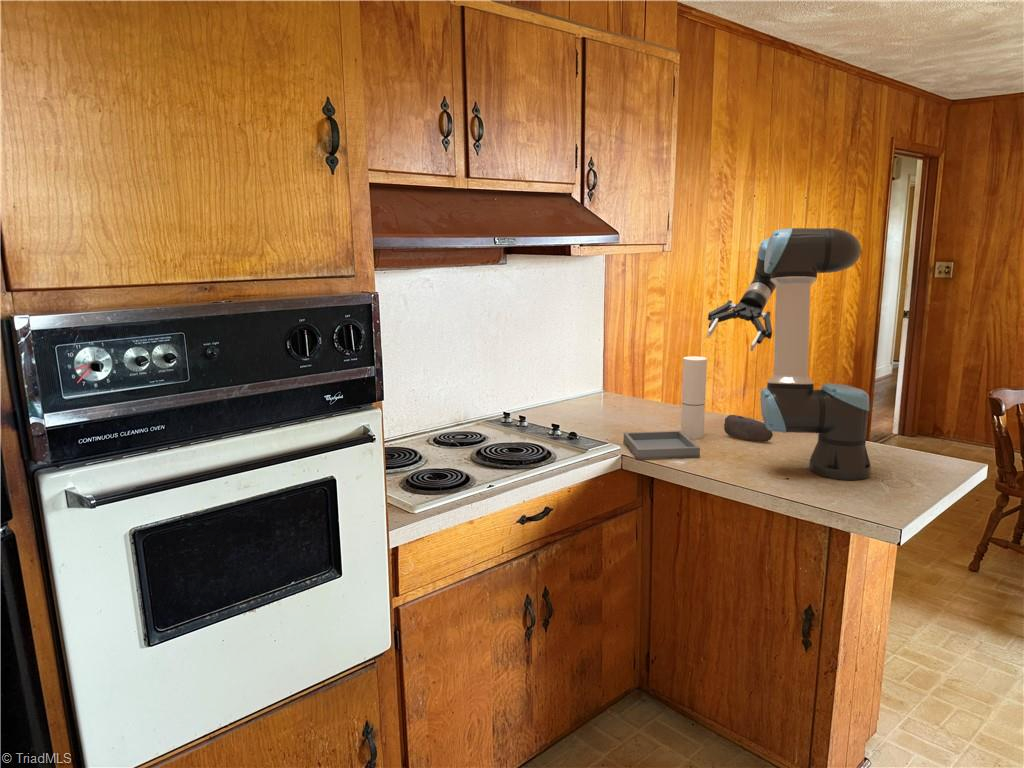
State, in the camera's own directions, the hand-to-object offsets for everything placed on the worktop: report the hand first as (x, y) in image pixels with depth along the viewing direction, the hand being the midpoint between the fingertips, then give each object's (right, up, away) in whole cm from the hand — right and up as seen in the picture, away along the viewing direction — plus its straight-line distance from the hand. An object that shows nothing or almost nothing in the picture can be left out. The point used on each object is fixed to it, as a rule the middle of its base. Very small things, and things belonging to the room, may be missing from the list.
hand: (730, 341), depth 222 cm
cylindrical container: (-9, -30, +9) cm, 32 cm away
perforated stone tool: (+7, -31, +4) cm, 32 cm away
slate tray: (-22, -33, -5) cm, 40 cm away
